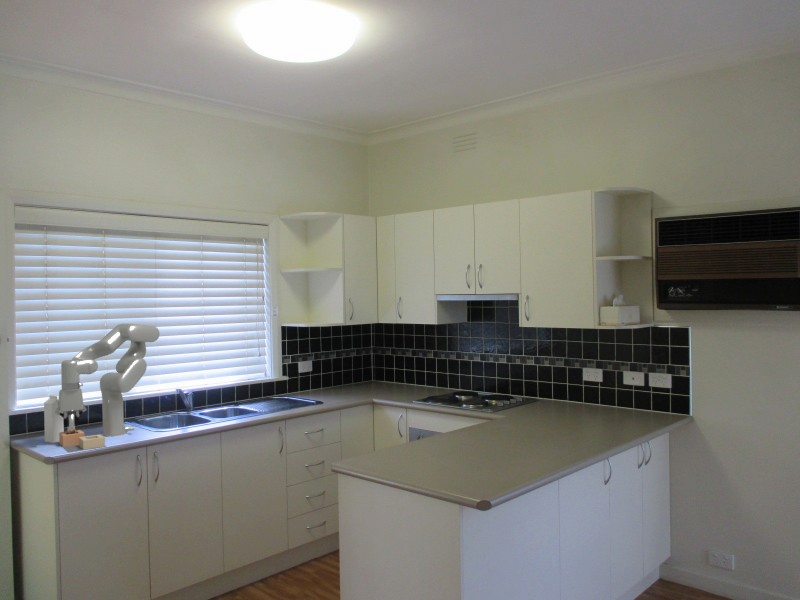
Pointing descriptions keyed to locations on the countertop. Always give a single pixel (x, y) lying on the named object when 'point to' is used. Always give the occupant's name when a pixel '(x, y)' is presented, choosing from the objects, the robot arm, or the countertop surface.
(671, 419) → the countertop surface
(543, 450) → the countertop surface
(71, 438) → the board
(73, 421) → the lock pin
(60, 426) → the milk
